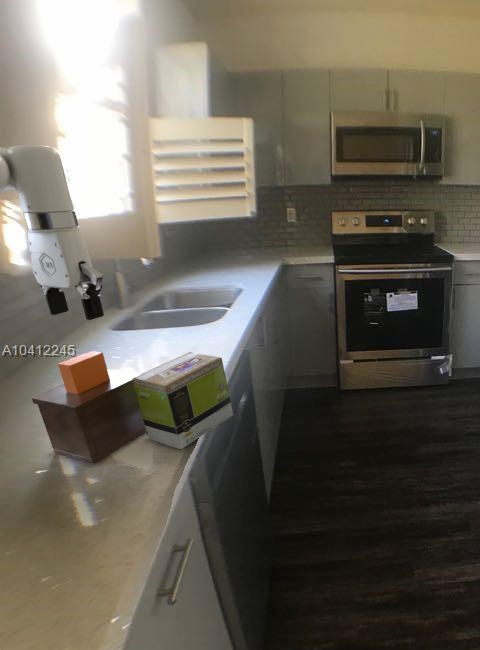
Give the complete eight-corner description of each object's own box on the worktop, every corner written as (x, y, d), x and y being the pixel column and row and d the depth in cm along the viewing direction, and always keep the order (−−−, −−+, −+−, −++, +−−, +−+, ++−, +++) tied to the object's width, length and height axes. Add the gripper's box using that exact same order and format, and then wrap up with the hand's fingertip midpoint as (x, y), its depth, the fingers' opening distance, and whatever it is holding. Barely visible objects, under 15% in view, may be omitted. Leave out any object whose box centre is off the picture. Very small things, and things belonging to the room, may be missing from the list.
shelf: (51, 454, 91) (31, 397, 87) (115, 419, 104) (101, 367, 99) (93, 466, 87) (74, 407, 83) (154, 427, 100) (141, 374, 95)
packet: (66, 392, 89) (57, 363, 86) (99, 377, 95) (91, 350, 92) (78, 394, 87) (69, 365, 85) (110, 379, 94) (102, 352, 91)
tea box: (202, 408, 108) (190, 350, 102) (234, 416, 104) (224, 356, 98) (146, 440, 95) (130, 376, 90) (180, 451, 91) (165, 384, 86)
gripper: (-2, 223, 80) (27, 316, 87) (64, 225, 74) (90, 326, 80) (41, 219, 87) (65, 306, 93) (106, 221, 81) (127, 314, 87)
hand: (77, 315), depth 87 cm, fingers open, 9 cm apart
